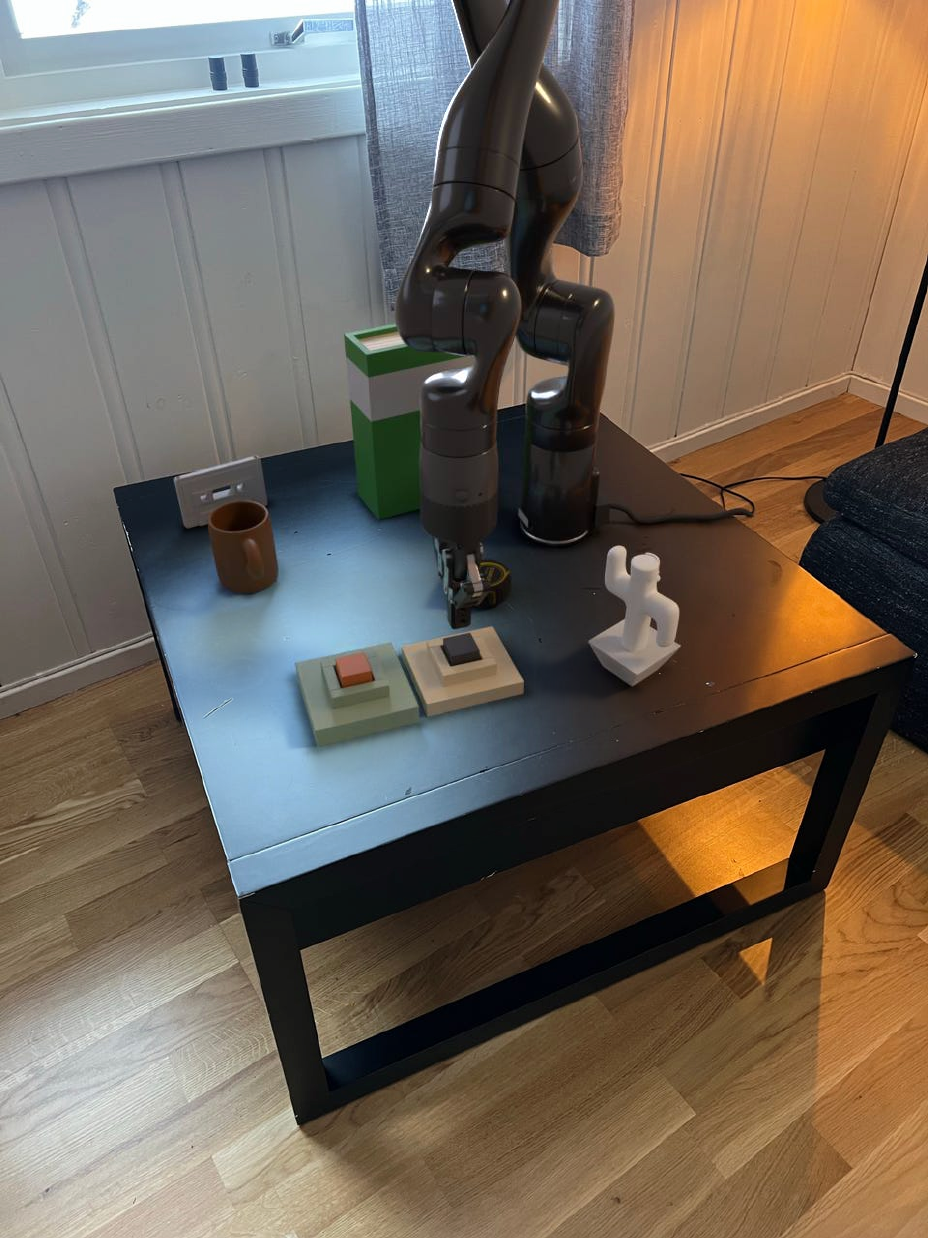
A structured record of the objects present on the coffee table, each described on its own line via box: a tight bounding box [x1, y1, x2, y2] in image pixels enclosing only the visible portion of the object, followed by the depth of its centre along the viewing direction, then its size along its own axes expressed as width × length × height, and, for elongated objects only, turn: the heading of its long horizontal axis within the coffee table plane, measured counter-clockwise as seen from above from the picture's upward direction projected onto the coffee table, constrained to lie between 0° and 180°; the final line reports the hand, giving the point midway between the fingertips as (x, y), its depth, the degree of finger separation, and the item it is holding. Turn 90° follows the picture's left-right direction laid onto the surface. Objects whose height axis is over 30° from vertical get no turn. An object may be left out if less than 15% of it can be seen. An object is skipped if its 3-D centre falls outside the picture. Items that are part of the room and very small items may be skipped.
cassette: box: [173, 455, 268, 529], centre depth 128 cm, size 12×2×8 cm, turn 121°
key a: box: [443, 633, 480, 666], centre depth 102 cm, size 3×3×2 cm
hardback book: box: [343, 323, 475, 521], centre depth 127 cm, size 18×7×24 cm, turn 117°
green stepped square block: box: [294, 641, 420, 748], centre depth 100 cm, size 11×11×4 cm
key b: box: [335, 652, 372, 688], centre depth 99 cm, size 3×3×2 cm
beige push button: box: [400, 625, 525, 717], centre depth 103 cm, size 11×10×4 cm
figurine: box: [587, 545, 682, 687], centre depth 101 cm, size 7×9×15 cm
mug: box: [207, 500, 279, 595], centre depth 114 cm, size 12×8×9 cm, turn 24°
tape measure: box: [472, 558, 513, 608], centre depth 114 cm, size 7×7×4 cm
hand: (458, 623), depth 99 cm, fingers closed
